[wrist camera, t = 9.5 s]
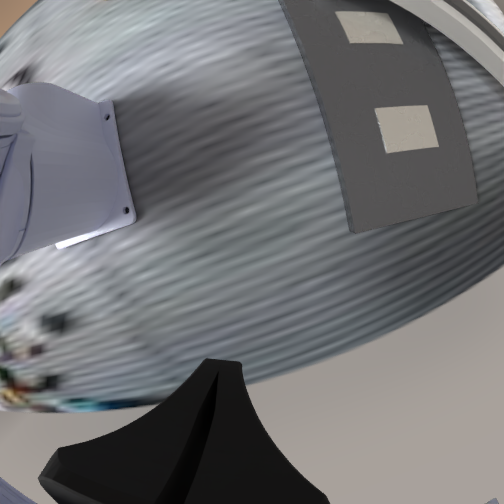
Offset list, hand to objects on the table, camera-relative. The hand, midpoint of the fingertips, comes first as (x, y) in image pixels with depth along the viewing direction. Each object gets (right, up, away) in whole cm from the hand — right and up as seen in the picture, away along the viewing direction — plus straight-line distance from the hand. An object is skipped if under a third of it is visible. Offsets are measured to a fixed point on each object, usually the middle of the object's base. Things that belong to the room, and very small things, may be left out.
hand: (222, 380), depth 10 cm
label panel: (+10, +18, +5) cm, 21 cm away
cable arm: (+15, +23, +1) cm, 28 cm away
